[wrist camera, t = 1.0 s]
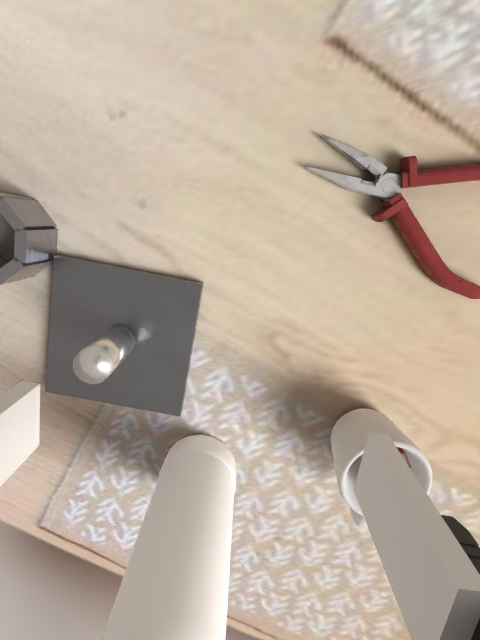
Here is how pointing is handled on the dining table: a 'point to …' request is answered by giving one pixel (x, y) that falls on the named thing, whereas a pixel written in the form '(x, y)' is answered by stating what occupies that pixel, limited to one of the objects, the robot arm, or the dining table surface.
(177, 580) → the bottle
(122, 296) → the piston jig
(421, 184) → the pliers
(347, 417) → the cup
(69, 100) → the dining table surface
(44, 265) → the ring
